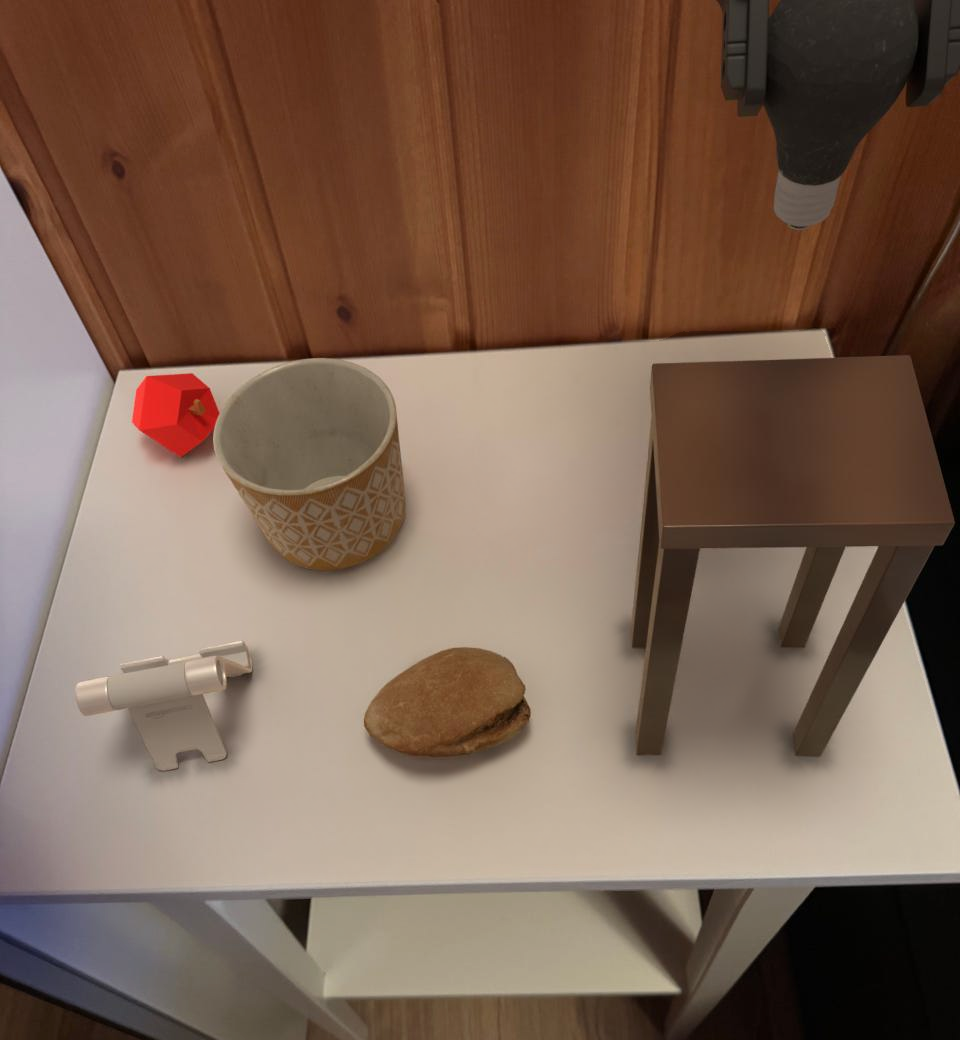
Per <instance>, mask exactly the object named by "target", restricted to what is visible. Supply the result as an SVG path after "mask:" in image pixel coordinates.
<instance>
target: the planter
mask: <svg viewBox="0 0 960 1040" xmlns="http://www.w3.org/2000/svg"><path fill="white" fill-rule="evenodd" d="M395 401H396V400H395V399H394V396H393V393H392V392H391V390H390V388H389V387H388V385H387V384H386V383H385V382H384V381H383V379H382V378H381V377H379V375H377V374H376V373H374V372H373V371H372V370H370V369H368V368H366V367H365V366H362V365H359V364H358V363H355V362H351V361H347V360H344V359H338V358H330V357H329V358H328V357H314V358H303V359H297V360H293V361H288V362H285V363H282V364H278V365H276V366H274V367H271V368H269V369H266V370H265V371H263V372H261V373H259V374H257V375H255V376H254V377H252V378H251V379H249V380H248V381H246V382H245V383H244V384H242V385H241V386H240V387H239V388H238V389H237V390H236V391H235V392H234V393H233V394H232V395H231V396H230V397H229V398H228V400H227V401H226V402H225V403H224V405H223V407H222V408H221V410H220V411H219V413H220V414H219V416H218V418H217V421H216V424H215V428H214V429H213V437H212V443H213V449H214V453H215V456H216V459H217V461H218V463H219V464H220V466H221V468H222V470H223V471H224V472H225V474H226V476H227V477H228V479H229V481H230V482H231V484H232V485H233V487H234V488H235V490H236V492H237V494H238V495H239V496H240V498H241V500H242V501H243V503H244V504H245V506H246V507H247V509H248V511H249V513H250V514H251V516H252V517H253V518H254V520H255V522H256V523H257V525H258V526H259V528H260V530H261V531H262V533H263V534H264V536H265V538H266V539H267V541H268V543H269V544H270V545H271V547H272V548H273V549H274V551H276V552H277V554H279V555H280V556H281V557H282V558H283V559H285V560H286V561H289V563H292V564H294V565H297V566H299V567H302V568H305V569H308V570H309V569H310V570H316V571H334V570H342V569H346V568H351V567H354V566H356V565H359V564H362V563H363V562H366V561H368V560H370V559H372V558H373V557H375V556H377V555H378V554H379V553H380V552H381V551H383V550H384V549H385V548H386V547H387V546H388V545H389V544H390V543H391V541H392V540H393V539H394V538H395V537H396V535H397V533H398V531H399V529H400V528H401V526H402V523H403V520H404V518H405V511H406V493H405V483H404V472H403V462H402V454H401V453H402V452H401V443H400V434H399V422H398V413H397V405H396V402H395Z"/></svg>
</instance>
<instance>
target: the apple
mask: <svg viewBox="0 0 960 1040" xmlns="http://www.w3.org/2000/svg"><path fill="white" fill-rule="evenodd" d="M219 414H220V411H219V408H218V406H217V403H216V400H215V398H214V395H213V392H212V390H211V388H210V387H209V386H208V385H206V383H205V382H204V381H202V380H201V379H200V378H199V377H197V376H196V375H195V373H193V372H189V373H173V374H158V375H157V374H156V375H146V376H145V378H144V379H143V380H142V381H141V383H140V384H139V385H138V386H137V388H136V389H135V396H134V404H133V412H132V418H131V423H132V424H133V425H134V427H136V429H138V431H139V432H141V433H142V434H144V435H145V436H147V437H149V438H150V439H152V440H153V441H155V442H157V444H159V445H161V446H162V447H164V448H166V449H167V450H169V451H170V452H171V453H173V454H174V455H176V456H178V457H179V458H181V457H183V456H185V455H186V454H188V453H189V452H190V451H192V450H193V449H195V448H196V447H197V446H198V445H200V444H201V443H203V442H204V441H205V440H206V439H207V437H209V435H211V433H212V432H213V431H214V428H215V424H216V421H217V418H218V416H219Z"/></svg>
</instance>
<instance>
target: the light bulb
mask: <svg viewBox="0 0 960 1040" xmlns="http://www.w3.org/2000/svg"><path fill="white" fill-rule="evenodd" d="M918 34H919V33H918V21H917V15H916V12H915V8H914V4H913V1H912V0H779V1H778V2H777V4H776V6H775V7H774V9H773V10H772V12H771V14H769V27H768V51H767V76H766V94H765V100H764V104H763V107H764V110H765V113H766V115H767V118H768V120H769V122H770V125H771V128H772V129H773V133H774V137H775V141H776V143H775V144H776V148H775V150H776V153H775V154H776V155H775V156H776V157H775V159H776V165H777V170H778V173H777V179H776V185H775V189H774V199H773V200H774V201H773V211H774V213H775V216H776V217H777V218H778V219H780V220H781V221H782V222H784V223H786V224H787V226H788V228H790V229H791V230H796V231H804V230H805V231H806V229H808V228H810V227H812V226H814V225H817V224H819V223H821V222H823V221H825V220H826V219H827V218H828V217H829V215H830V214H831V210H833V209H832V208H833V207H834V206H835V201H836V198H837V193H838V190H839V185H840V180H841V178H842V175H843V174H844V173H845V171H846V170H847V168H848V166H849V165H850V163H851V160H852V158H853V156H854V154H855V151H856V149H857V148H858V147H859V145H860V143H861V142H862V141H863V139H864V138H865V137H866V136H867V135H868V134H869V133H870V131H871V130H872V129H874V127H875V126H876V125H877V124H878V123H879V122H880V121H881V120H882V119H883V117H884V116H885V115H886V114H887V113H888V112H889V111H890V110H891V108H892V107H893V105H894V104H895V103H896V101H897V100H898V99H899V97H900V95H901V93H902V91H903V90H904V89H905V88H906V83H907V80H908V77H909V75H910V73H911V70H912V67H913V64H914V61H915V56H916V52H917V48H918Z"/></svg>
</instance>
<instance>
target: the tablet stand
mask: <svg viewBox="0 0 960 1040" xmlns="http://www.w3.org/2000/svg"><path fill="white" fill-rule="evenodd" d="M119 666H120V670H121V672H122V673H120V674H114V675H105V676H100V677H96V678H91V679H87V680H84V681H79V682H78V683H77V684H76V686H75V701H76V705H77V708H78V710H79V712H80V713H81V715H83V716H84V717H90V716H95V715H99V714H106V713H110V712H116V711H122V710H126V709H128V711H129V713H130V716H131V717H132V719H133V721H134V723H135V726H136V728H137V730H138V732H139V734H140V736H141V738H142V740H143V743H144V744H145V747H146V749H147V751H148V753H149V755H150V757H151V759H152V761H153V764H154V766H155V768H156V769H157V770H159V771H164V772H165V771H169V770H175V769H178V768H179V762H178V758H177V754H179V753H184V752H188V751H193V750H199V752H200V753H201V754H202V755H203V756H204V758H205V759H206V761H207V763H211V762H216V761H217V762H218V761H222V760H225V759H226V757H227V755H228V752H227V750H226V747H225V745H224V743H223V740H222V738H221V735H220V733H219V730H218V728H217V726H216V722H215V721H214V718H213V716H212V713H211V711H210V708H209V706H208V703H207V701H206V699H205V696H204V694H205V695H206V694H209V693H214V692H221V691H225V690H226V689H227V686H228V685H227V684H228V680H227V678H228V677H230V678H233V677H238V676H239V677H240V676H242V675H243V674H249V673H252V671H253V659H252V655H251V651H250V649H249V647H248V645H247V644H246V643H245V642H244V641H243V640H240V641H233V642H229V643H224V644H219V645H212V646H208V647H203V648H202V647H201V648H199V652H198V653H197V654H192V655H187V656H183V657H182V656H181V657H177V658H172V659H168V658H166V656H164V655H161V656H155V657H150V658H144V659H140V660H139V659H138V660H134V661H129V662H124V663H120V665H119Z"/></svg>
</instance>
